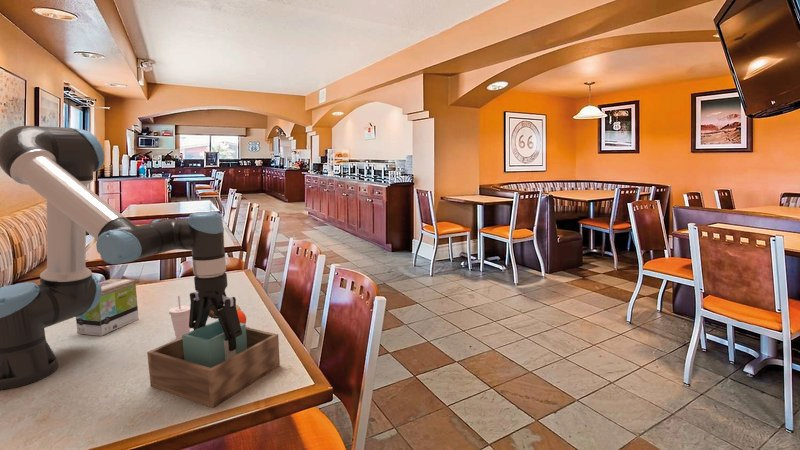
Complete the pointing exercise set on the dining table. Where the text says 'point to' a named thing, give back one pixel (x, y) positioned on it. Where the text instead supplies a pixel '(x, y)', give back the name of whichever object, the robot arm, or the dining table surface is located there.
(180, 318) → the smoothie
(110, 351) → the dining table surface
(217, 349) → the teal crate
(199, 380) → the walnut crate
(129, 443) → the dining table surface
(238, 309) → the bread roll
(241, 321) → the clementine
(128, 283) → the tea box
